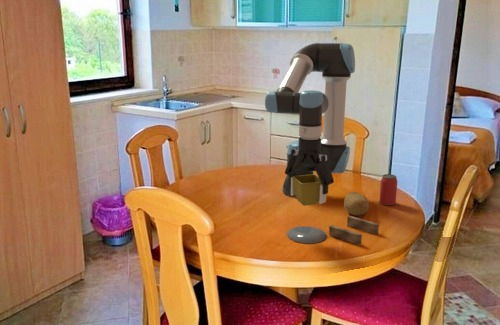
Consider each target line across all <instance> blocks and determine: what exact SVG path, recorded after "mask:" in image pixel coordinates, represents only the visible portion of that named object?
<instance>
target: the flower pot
mask: <svg viewBox="0 0 500 325" xmlns="http://www.w3.org/2000/svg"><path fill="white" fill-rule="evenodd" d="M321 184H322V183H321V181H320V179H319V177H318V175H317V174H314V173H313V174H312V175H300V176H293V188H294V193H295V196H296V197H295V198H296V199H297V202H298V203H300V204H301V205H302V206H305V207H307V206H313V205H314V206H315V205H317V204H318V203H319V200H320V185H321Z"/></svg>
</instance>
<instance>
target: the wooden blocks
mask: <svg viewBox="0 0 500 325" xmlns="http://www.w3.org/2000/svg"><path fill="white" fill-rule="evenodd" d="M346 223H347V224H346V226H347V227H351V228H354V229H358V230H360V231H363V232H366V233H369V234H374V235H378V234H379V231H380V230H379V227H380V223H376V222H373V221H370V220H366V219H362V218H360V217H355V216H352V215H348V216H347V220H346ZM328 232H329V234H328V236H330V237H332V238H336V239H339V240H342V241H344V242H348V243H352V244H353V245H358V246H360V245H361V244H362V239H363V238H362V237H363V235H362V233H359V232H356V231H352V230H349V229H346V228H342V227H340V226H336V225H334V224H331V225H329V230H328Z"/></svg>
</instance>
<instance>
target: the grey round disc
mask: <svg viewBox="0 0 500 325" xmlns="http://www.w3.org/2000/svg"><path fill="white" fill-rule="evenodd" d="M286 232H287V233H286V236H287V238H288V239H289V240H290V241H293V242H295V243H300V244H309V245H310V244H317V243H321V242H323V241H325V240H326V239H327V233H326V231H324V230H323V229H320V228H319V227H315V226H307V225H305V226H296V227H293V228H290V229H288V231H286Z"/></svg>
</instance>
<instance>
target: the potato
mask: <svg viewBox="0 0 500 325" xmlns="http://www.w3.org/2000/svg"><path fill="white" fill-rule="evenodd" d="M343 207H344V209H345V210H346V211H347V212H348V213H349V214H351V215H354V216H362V215H364V214H366V213H367V212H368V210H369V208H370V203H369V199H368V197H366V196H365V195H363V194H361V193H359V192H358V191H353V192H352V191H351V192H350V191H349V193H347V194H346V195H345V198H344V201H343Z"/></svg>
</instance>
